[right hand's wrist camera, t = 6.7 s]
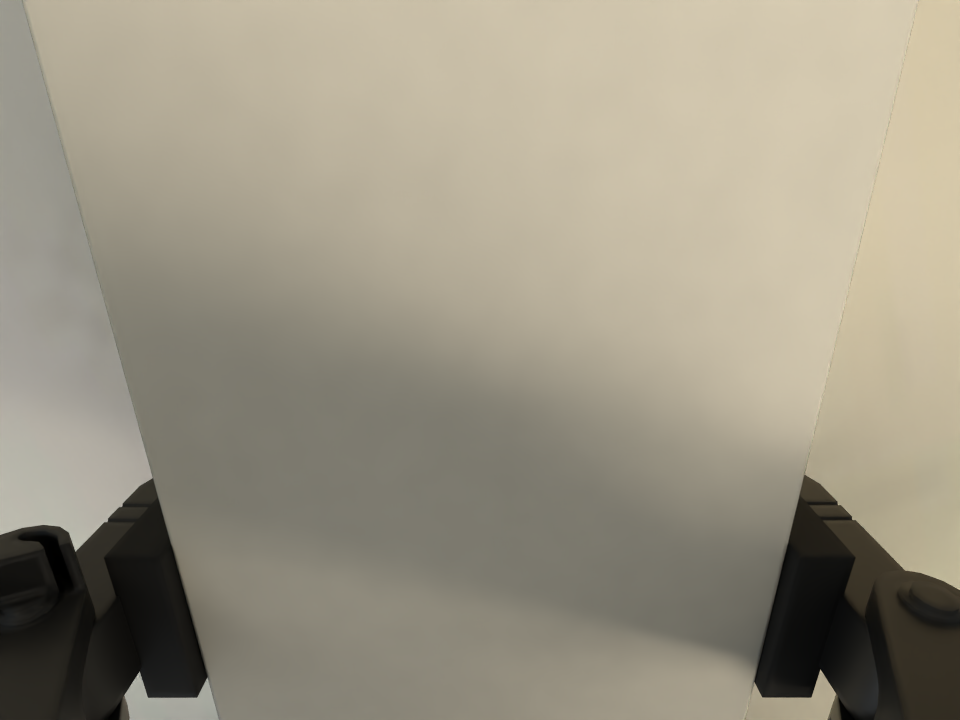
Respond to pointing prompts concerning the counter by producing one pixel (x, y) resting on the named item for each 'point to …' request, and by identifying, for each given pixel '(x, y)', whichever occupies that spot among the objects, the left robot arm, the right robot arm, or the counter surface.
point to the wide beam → (475, 328)
